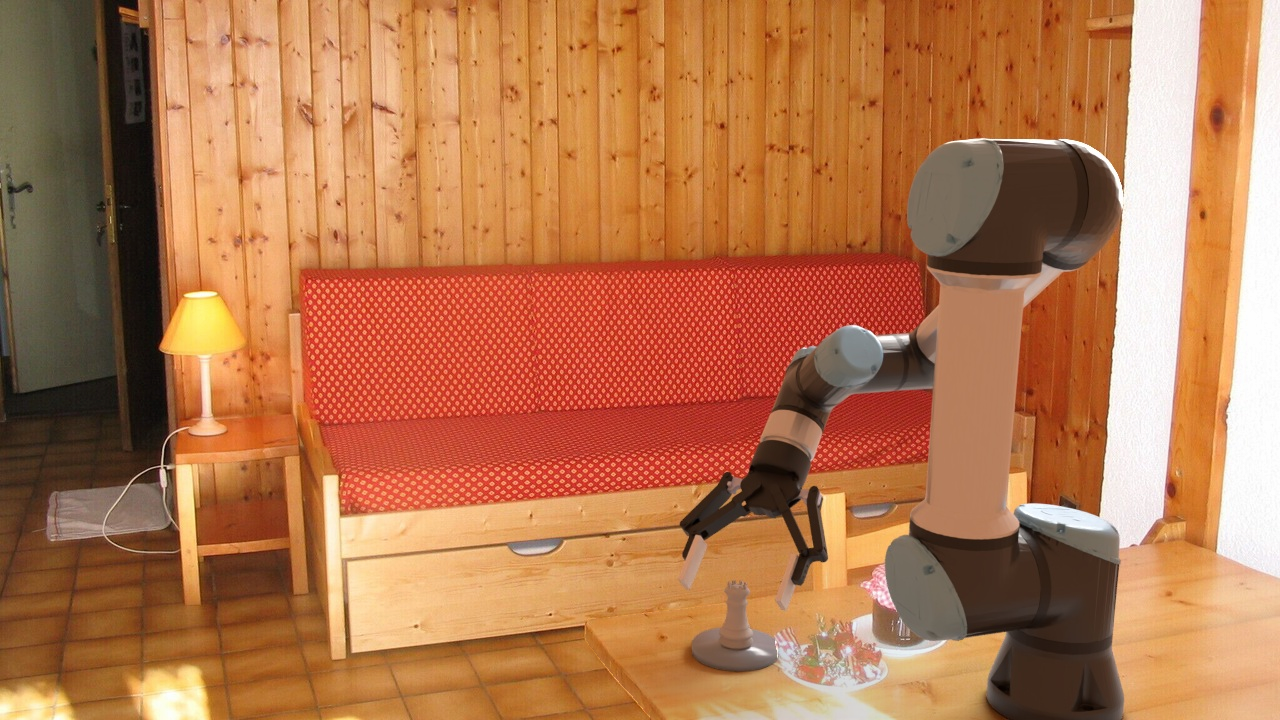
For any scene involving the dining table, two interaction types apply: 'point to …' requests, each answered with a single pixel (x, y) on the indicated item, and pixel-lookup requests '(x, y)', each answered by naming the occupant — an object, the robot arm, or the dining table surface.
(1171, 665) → the dining table surface
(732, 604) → the rook chess piece
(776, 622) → the dining table surface
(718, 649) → the glossy grey pebble
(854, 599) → the dining table surface
